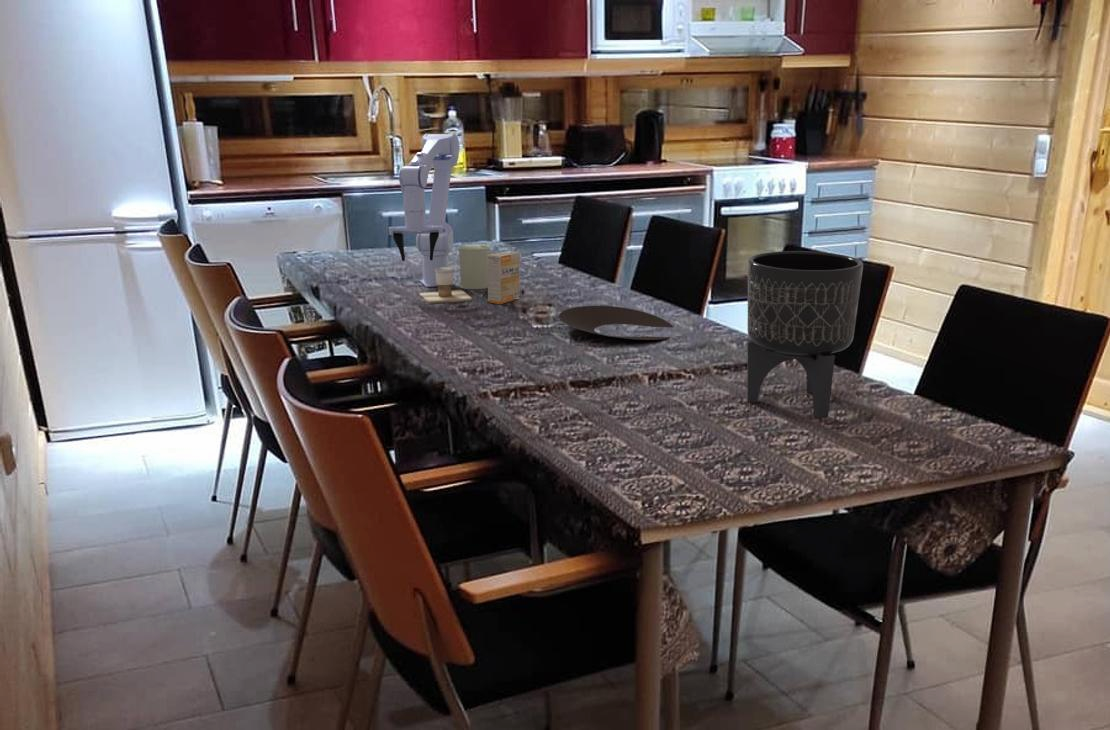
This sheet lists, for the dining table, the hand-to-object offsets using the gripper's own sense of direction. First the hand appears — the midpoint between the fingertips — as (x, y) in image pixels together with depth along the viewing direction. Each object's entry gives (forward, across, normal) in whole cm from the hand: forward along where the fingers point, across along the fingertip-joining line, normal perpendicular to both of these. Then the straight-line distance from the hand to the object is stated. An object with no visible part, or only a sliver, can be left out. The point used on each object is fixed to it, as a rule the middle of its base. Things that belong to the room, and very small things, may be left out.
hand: (417, 260), depth 261 cm
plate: (+10, +49, -45) cm, 67 cm away
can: (+10, +16, +10) cm, 21 cm away
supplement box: (+10, +24, -10) cm, 28 cm away
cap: (+6, +7, -4) cm, 10 cm away
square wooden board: (+10, +7, -4) cm, 13 cm away
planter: (+10, +74, -101) cm, 126 cm away
